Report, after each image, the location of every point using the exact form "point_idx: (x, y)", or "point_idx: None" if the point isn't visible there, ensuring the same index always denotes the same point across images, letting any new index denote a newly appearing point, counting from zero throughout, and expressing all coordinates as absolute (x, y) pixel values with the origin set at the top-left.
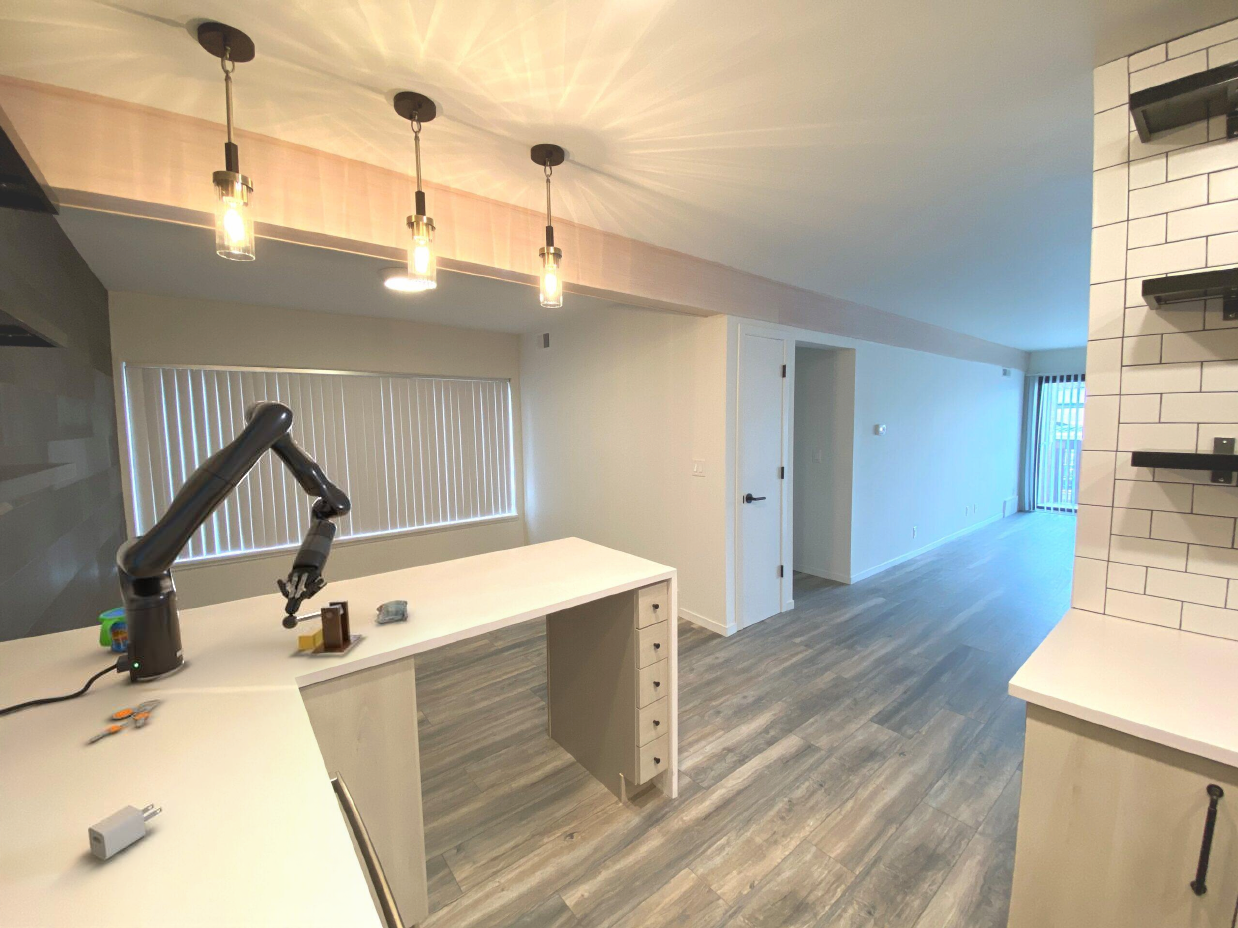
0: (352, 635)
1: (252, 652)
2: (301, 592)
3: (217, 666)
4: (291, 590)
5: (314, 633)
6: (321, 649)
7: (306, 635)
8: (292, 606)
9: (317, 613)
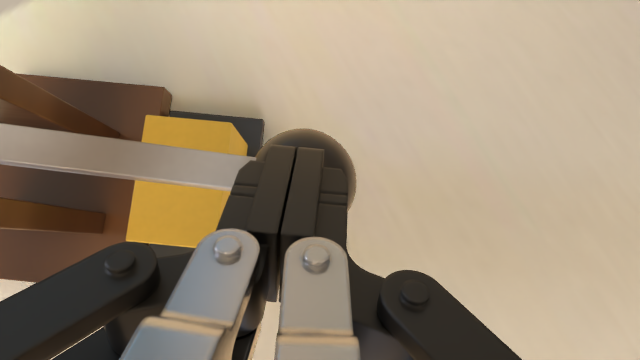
0: (13, 269)
1: (498, 195)
2: (176, 290)
3: (571, 69)
4: (334, 332)
5: None
6: (123, 112)
7: (183, 123)
8: (266, 169)
9: (52, 140)
